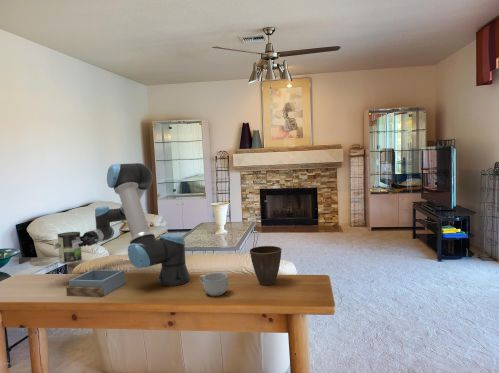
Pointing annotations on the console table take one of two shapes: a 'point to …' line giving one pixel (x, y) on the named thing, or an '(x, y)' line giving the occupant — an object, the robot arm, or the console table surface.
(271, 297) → the console table surface
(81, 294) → the rail
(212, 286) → the teacup
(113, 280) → the tray
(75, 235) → the coffee can
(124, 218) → the robot arm
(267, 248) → the plant pot
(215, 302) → the console table surface
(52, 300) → the console table surface
